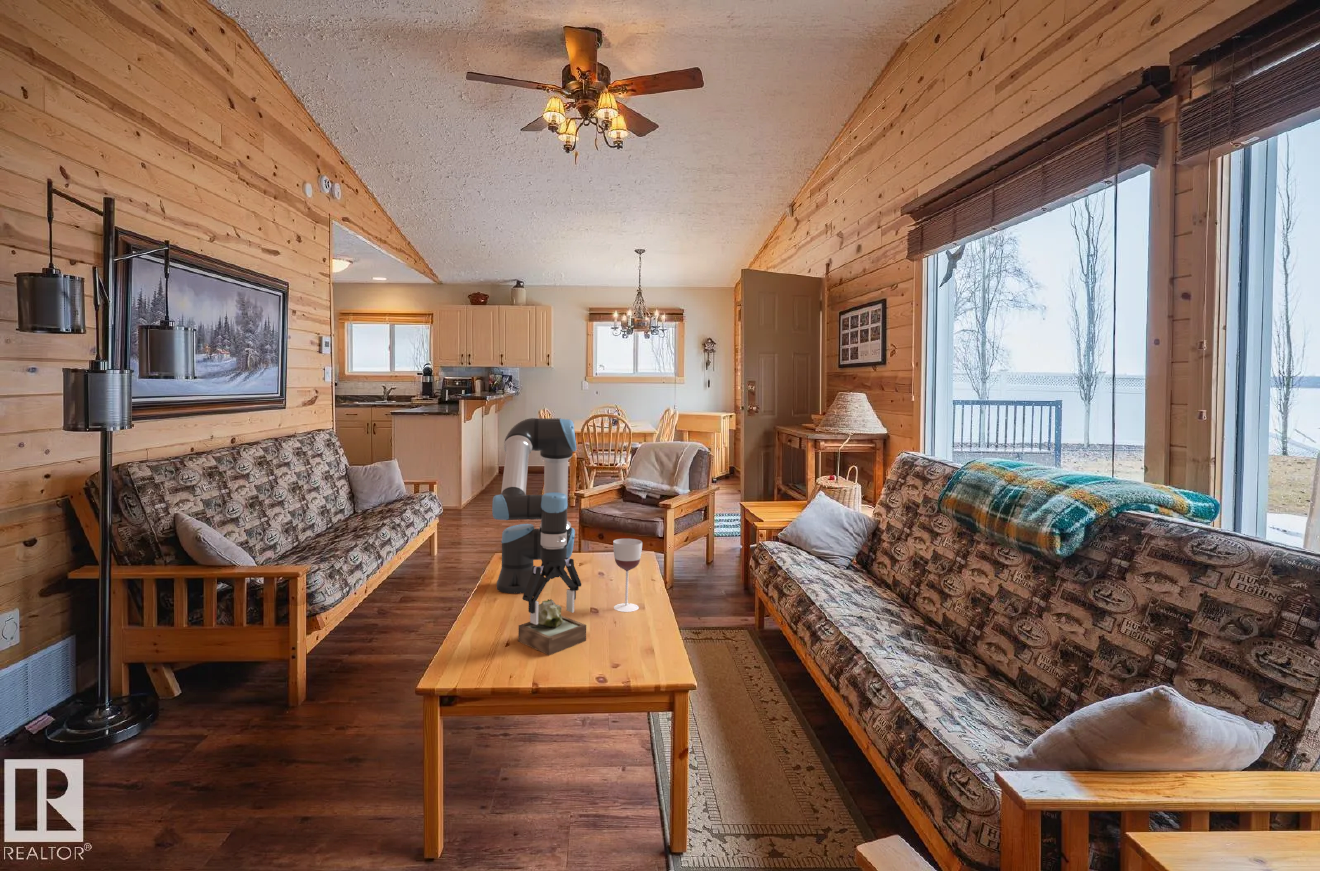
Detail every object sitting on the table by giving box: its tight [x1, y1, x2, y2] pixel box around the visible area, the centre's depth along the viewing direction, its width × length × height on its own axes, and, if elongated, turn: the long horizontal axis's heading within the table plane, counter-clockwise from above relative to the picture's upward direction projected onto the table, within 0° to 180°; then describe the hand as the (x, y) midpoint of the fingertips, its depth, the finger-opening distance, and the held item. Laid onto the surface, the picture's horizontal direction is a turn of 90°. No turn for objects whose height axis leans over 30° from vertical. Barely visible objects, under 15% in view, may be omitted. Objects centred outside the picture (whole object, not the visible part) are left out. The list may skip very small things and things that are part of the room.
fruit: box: [531, 598, 563, 628], centre depth 180 cm, size 9×9×8 cm
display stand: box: [517, 614, 587, 656], centre depth 179 cm, size 14×14×5 cm
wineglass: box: [612, 538, 643, 613], centre depth 209 cm, size 9×10×23 cm
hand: (552, 617), depth 179 cm, fingers open, 13 cm apart
